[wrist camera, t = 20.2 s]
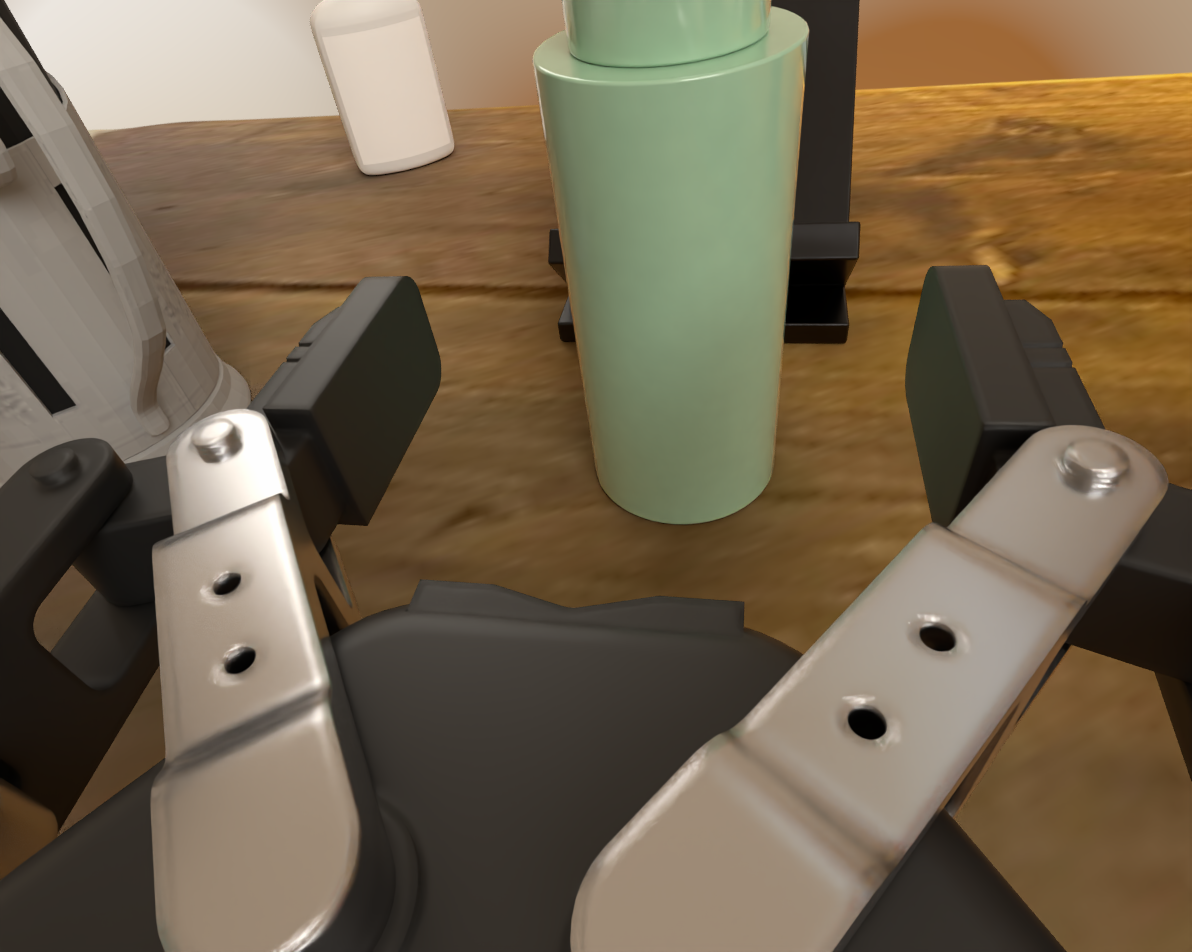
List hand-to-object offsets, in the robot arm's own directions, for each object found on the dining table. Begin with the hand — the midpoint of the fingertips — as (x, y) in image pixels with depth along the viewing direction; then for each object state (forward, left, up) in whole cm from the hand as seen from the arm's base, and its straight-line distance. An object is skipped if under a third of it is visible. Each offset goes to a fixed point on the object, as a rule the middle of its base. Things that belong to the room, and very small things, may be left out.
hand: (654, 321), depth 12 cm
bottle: (0, +11, -6) cm, 12 cm away
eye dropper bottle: (-18, +30, -8) cm, 36 cm away
